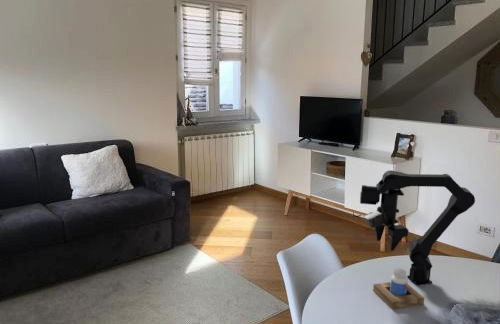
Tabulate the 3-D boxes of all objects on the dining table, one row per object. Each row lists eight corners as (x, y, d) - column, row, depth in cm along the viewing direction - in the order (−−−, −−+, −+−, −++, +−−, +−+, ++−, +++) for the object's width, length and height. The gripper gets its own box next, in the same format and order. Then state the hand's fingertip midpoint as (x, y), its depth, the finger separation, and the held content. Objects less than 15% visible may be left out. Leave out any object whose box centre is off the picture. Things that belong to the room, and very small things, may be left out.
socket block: (402, 286, 157) (403, 280, 157) (423, 304, 146) (424, 297, 145) (373, 290, 154) (373, 284, 154) (391, 308, 143) (392, 302, 142)
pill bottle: (406, 302, 147) (409, 276, 145) (390, 300, 148) (392, 274, 146) (404, 294, 152) (407, 268, 150) (388, 292, 153) (391, 266, 151)
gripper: (356, 199, 165) (353, 237, 169) (382, 215, 148) (379, 258, 151) (382, 197, 168) (379, 235, 172) (411, 213, 151) (407, 255, 154)
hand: (385, 245), depth 162 cm, fingers open, 9 cm apart
